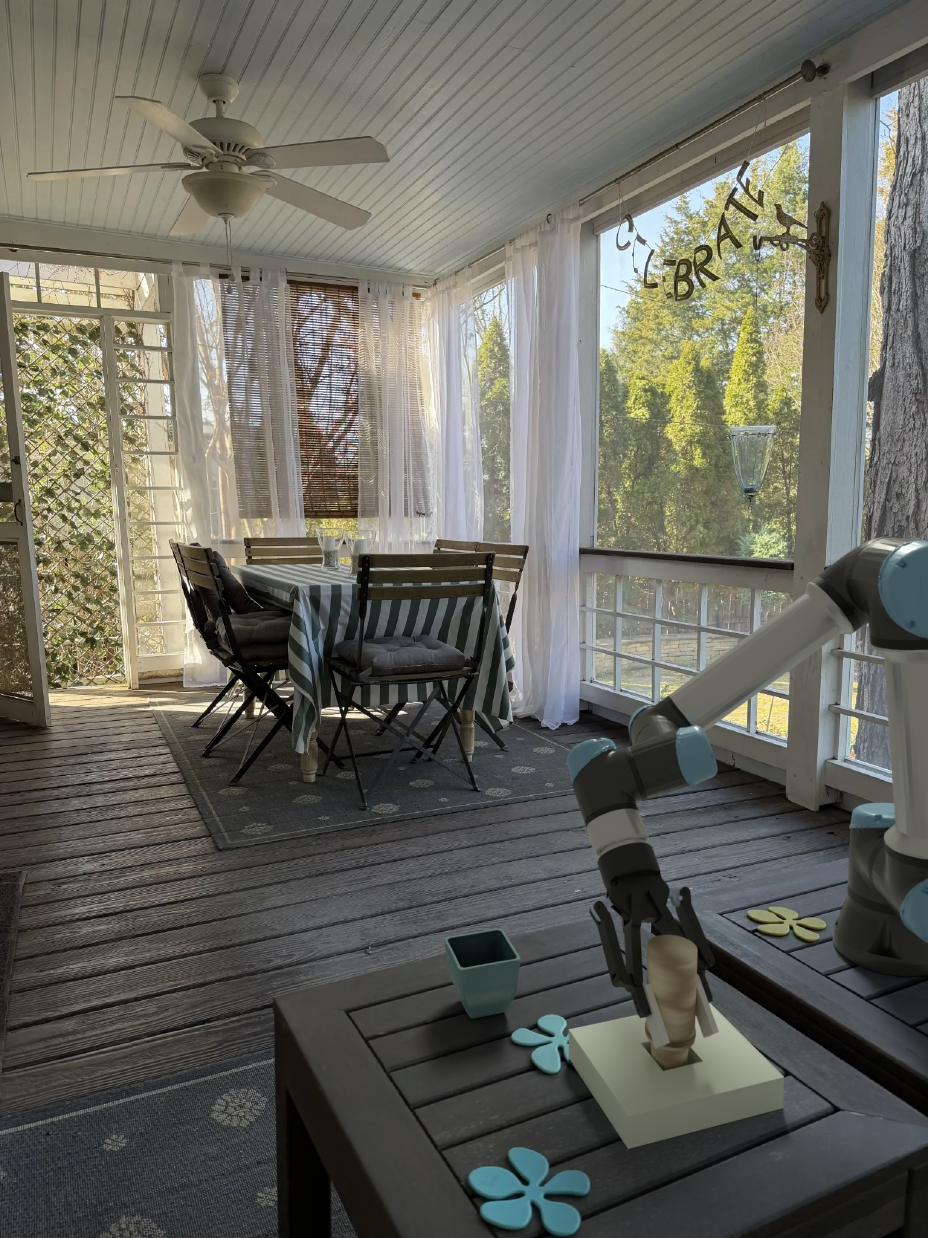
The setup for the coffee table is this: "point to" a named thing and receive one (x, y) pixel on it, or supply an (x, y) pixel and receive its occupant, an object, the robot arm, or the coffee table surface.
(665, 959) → the tan wooden cylinder
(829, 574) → the robot arm
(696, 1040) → the sage board
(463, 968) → the flower pot
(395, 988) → the coffee table surface
